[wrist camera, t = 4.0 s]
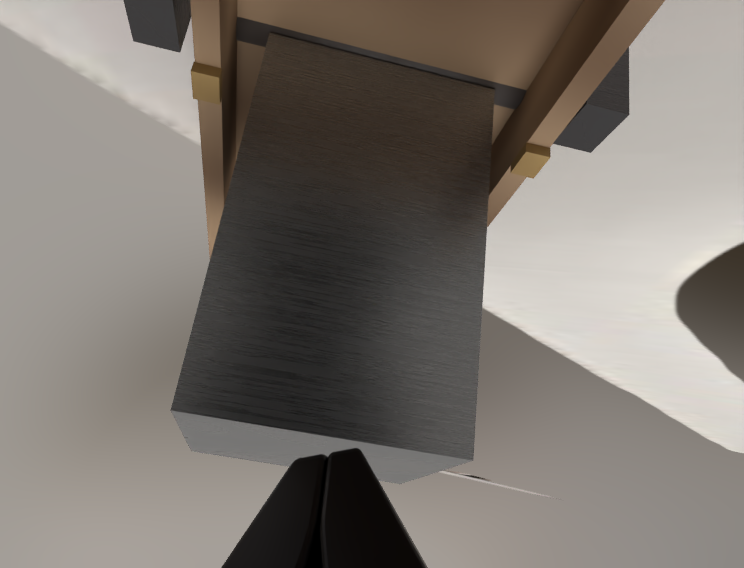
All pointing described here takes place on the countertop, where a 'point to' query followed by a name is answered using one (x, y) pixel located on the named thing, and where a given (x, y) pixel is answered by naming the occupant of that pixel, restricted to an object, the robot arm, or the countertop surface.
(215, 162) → the beam
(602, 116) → the stand
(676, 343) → the countertop surface
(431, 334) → the steel block
